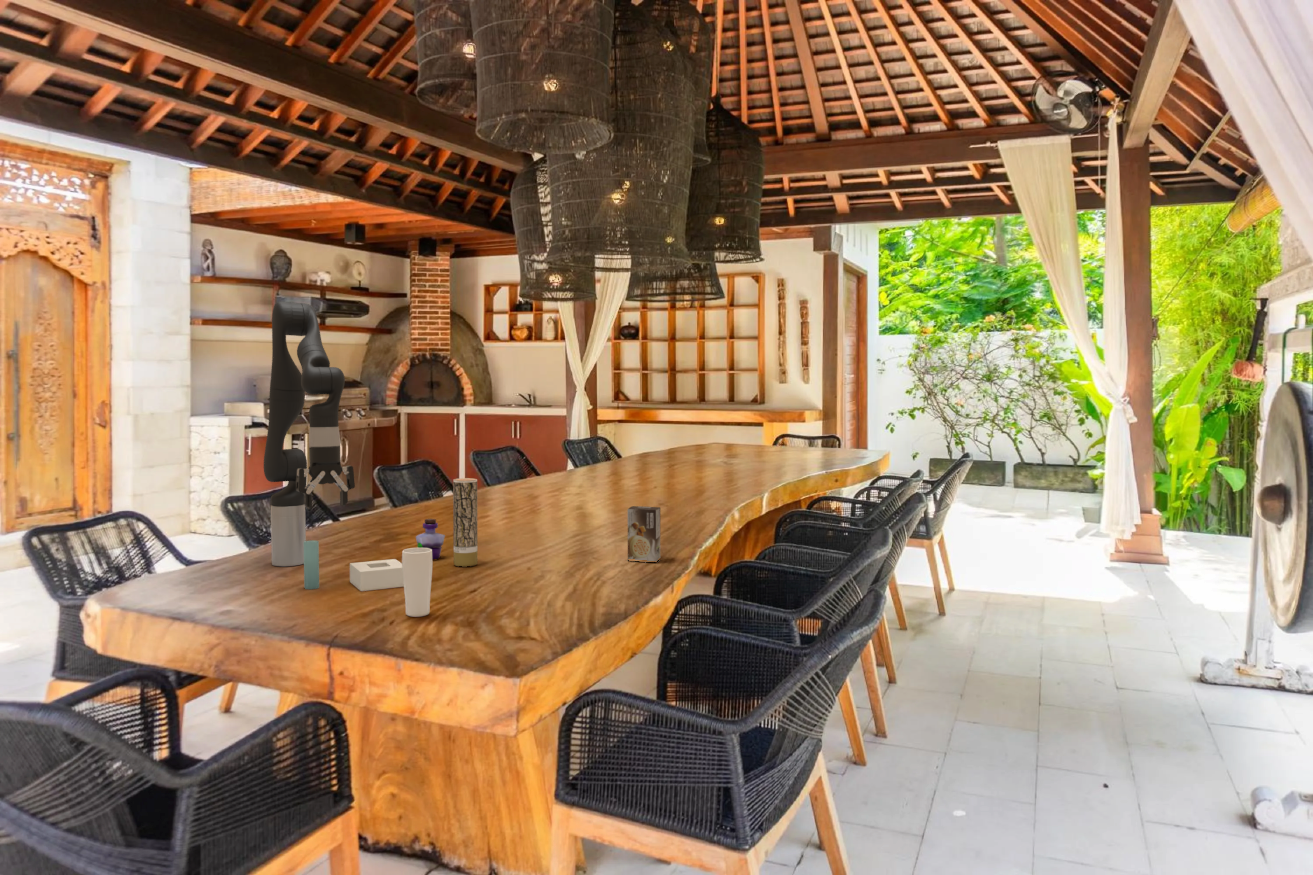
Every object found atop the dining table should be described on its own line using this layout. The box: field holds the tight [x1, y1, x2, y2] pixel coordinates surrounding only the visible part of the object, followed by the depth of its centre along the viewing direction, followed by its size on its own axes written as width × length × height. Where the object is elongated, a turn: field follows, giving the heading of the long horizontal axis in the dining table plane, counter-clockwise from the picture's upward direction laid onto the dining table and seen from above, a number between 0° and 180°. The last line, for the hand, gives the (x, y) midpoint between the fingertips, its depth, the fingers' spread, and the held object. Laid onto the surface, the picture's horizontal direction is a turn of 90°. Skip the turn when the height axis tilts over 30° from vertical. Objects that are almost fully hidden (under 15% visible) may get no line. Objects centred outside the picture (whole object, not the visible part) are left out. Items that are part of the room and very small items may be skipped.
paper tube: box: [452, 477, 478, 568], centre depth 263 cm, size 7×7×25 cm
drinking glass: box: [401, 547, 433, 618], centre depth 209 cm, size 7×7×15 cm
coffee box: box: [627, 505, 661, 561], centre depth 273 cm, size 9×6×16 cm
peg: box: [303, 539, 320, 590], centre depth 234 cm, size 4×4×12 cm
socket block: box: [349, 558, 404, 592], centre depth 239 cm, size 12×12×5 cm
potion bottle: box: [415, 518, 446, 561], centre depth 273 cm, size 9×9×12 cm
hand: (326, 507), depth 235 cm, fingers open, 8 cm apart
